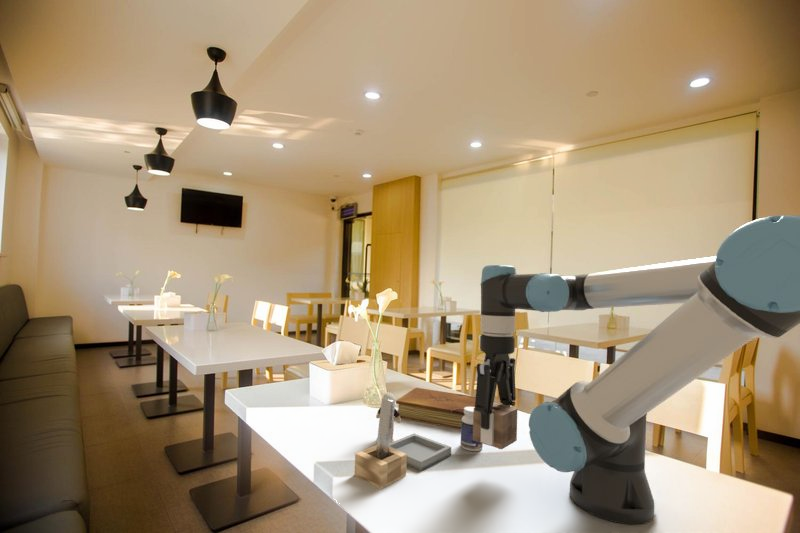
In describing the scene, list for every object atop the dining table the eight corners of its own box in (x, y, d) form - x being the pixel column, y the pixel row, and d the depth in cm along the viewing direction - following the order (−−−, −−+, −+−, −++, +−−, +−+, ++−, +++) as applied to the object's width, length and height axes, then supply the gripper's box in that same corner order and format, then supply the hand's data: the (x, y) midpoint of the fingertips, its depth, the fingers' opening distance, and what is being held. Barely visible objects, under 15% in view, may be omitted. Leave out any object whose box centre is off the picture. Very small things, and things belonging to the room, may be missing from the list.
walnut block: (516, 440, 91) (517, 408, 92) (501, 449, 86) (502, 415, 86) (488, 432, 96) (489, 401, 96) (472, 440, 91) (473, 408, 91)
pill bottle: (482, 453, 104) (483, 413, 104) (459, 450, 105) (461, 411, 105) (482, 444, 110) (483, 406, 110) (461, 441, 111) (462, 404, 111)
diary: (480, 414, 136) (481, 396, 137) (467, 432, 119) (468, 412, 119) (416, 402, 145) (416, 386, 146) (394, 418, 128) (395, 399, 128)
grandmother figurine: (370, 440, 109) (373, 392, 109) (376, 435, 113) (378, 389, 113) (398, 445, 106) (400, 396, 107) (403, 440, 110) (405, 392, 110)
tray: (451, 455, 102) (451, 447, 102) (421, 470, 93) (421, 461, 93) (413, 441, 110) (413, 433, 110) (382, 454, 101) (383, 446, 101)
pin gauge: (390, 473, 90) (398, 400, 91) (380, 477, 88) (388, 402, 88) (380, 468, 92) (388, 396, 93) (370, 471, 90) (378, 398, 90)
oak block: (405, 477, 91) (406, 454, 91) (380, 490, 84) (381, 465, 85) (379, 464, 96) (380, 443, 96) (354, 476, 90) (355, 453, 90)
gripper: (502, 330, 102) (501, 424, 101) (458, 335, 87) (456, 446, 86) (532, 332, 97) (530, 431, 96) (490, 339, 82) (488, 456, 81)
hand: (495, 438), depth 91 cm, fingers closed on walnut block, 7 cm apart
